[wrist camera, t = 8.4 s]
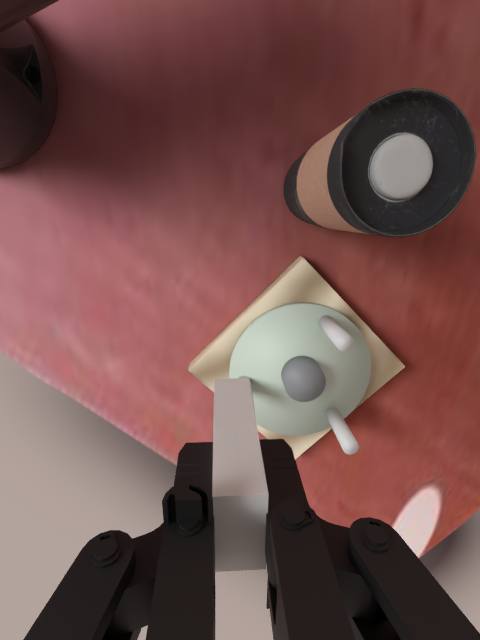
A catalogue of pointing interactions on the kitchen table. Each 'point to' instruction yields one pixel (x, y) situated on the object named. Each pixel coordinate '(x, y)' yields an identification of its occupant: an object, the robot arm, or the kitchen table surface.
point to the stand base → (288, 288)
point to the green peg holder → (303, 370)
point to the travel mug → (386, 167)
